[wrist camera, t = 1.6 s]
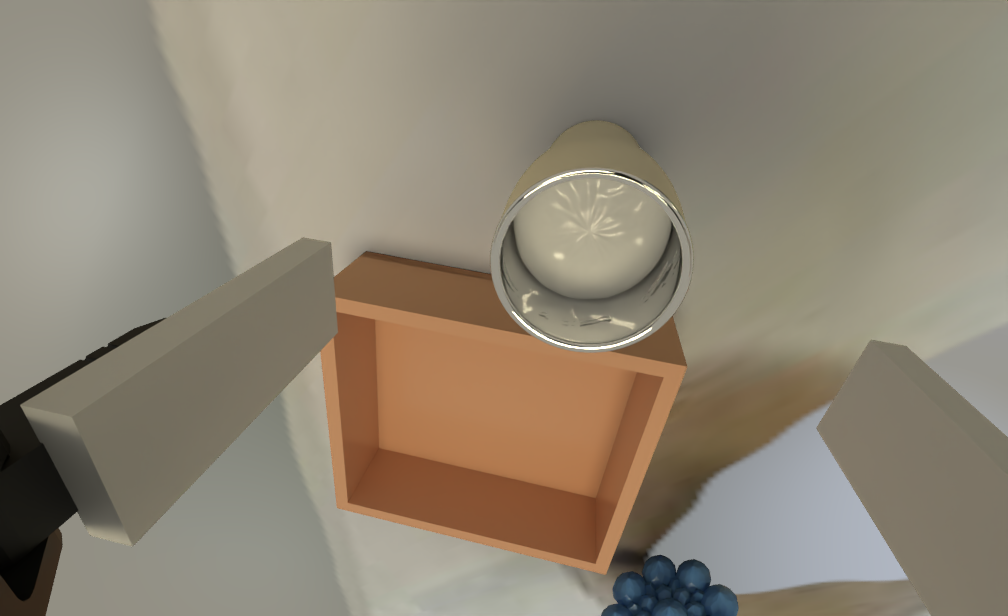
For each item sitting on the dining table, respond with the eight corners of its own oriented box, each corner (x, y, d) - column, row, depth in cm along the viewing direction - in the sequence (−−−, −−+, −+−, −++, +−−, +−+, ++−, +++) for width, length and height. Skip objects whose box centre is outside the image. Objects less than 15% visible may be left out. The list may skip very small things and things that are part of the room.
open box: (670, 307, 31) (687, 366, 25) (604, 498, 41) (605, 574, 35) (366, 251, 33) (314, 293, 27) (373, 445, 43) (337, 508, 37)
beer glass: (664, 117, 26) (733, 174, 13) (637, 234, 29) (669, 373, 16) (542, 105, 26) (489, 147, 13) (530, 220, 30) (478, 341, 17)
